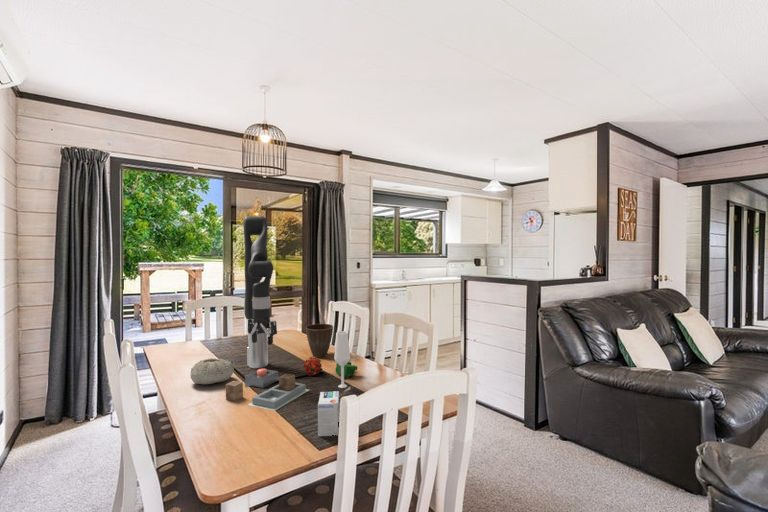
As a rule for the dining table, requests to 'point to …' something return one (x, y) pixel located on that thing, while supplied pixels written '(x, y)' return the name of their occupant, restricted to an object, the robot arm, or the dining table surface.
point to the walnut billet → (234, 390)
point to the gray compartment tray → (277, 397)
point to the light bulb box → (328, 413)
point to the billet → (287, 382)
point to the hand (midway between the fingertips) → (262, 343)
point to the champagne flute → (342, 354)
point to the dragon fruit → (312, 366)
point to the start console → (261, 379)
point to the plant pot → (319, 338)
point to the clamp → (346, 369)
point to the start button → (261, 372)
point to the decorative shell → (211, 371)
